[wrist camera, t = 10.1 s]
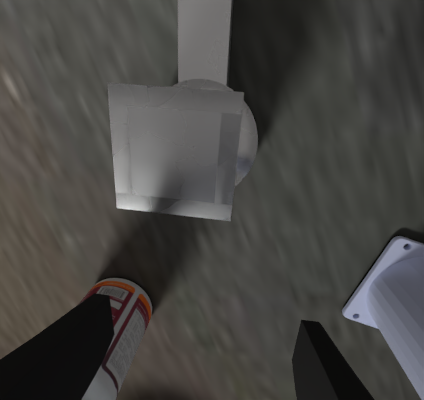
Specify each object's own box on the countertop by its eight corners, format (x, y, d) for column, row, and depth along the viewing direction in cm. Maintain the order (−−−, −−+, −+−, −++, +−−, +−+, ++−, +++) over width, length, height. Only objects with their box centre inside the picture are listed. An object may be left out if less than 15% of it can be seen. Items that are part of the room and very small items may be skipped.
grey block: (244, 97, 14) (244, 92, 8) (235, 179, 16) (230, 221, 10) (160, 91, 14) (107, 82, 9) (161, 172, 16) (116, 207, 10)
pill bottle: (80, 295, 24) (-49, 445, 13) (118, 263, 22) (3, 408, 11) (127, 335, 25) (42, 501, 15) (167, 307, 23) (104, 476, 13)
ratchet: (250, 190, 18) (252, 217, 14) (157, 182, 19) (130, 206, 14) (293, -211, 11) (326, -415, 7) (143, -200, 12) (83, -379, 7)
